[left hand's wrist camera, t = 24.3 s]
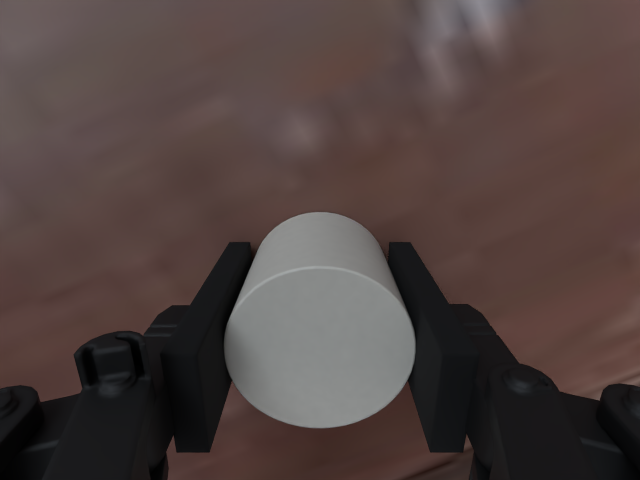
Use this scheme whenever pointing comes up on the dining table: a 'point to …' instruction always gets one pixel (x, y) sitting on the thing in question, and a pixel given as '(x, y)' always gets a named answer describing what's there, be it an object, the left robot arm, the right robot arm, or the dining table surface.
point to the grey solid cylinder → (319, 325)
